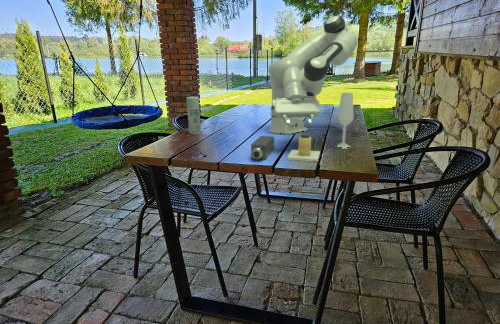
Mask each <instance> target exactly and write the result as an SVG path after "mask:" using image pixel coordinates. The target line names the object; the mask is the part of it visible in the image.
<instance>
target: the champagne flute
mask: <svg viewBox="0 0 500 324" xmlns="http://www.w3.org/2000/svg"><path fill="white" fill-rule="evenodd" d="M353 120H354V93H353V92H341V94H340V100H339V107H338V113H337V121H338V122H339V123H340V124H341V125H342V137H341V138H342V140H341V142H340V143H338V144H336V145H337V147H342V148H341V149H348V148H347V147H350V148H351V145H349V144H347V143H346V132H347V126H348V125H350V124H351V123H352V122H353ZM337 147H336V148H337Z"/></svg>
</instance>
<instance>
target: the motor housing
mask: <svg viewBox="0 0 500 324" xmlns="http://www.w3.org/2000/svg"><path fill="white" fill-rule="evenodd" d="M250 147H251V148H250V149H251V151H250V153H251V154H250V157H251V159H252V160H257V161H258V160H263V161H264V160H265V161H266V160H267V159H268V158H269V157H270V156H271V154H272V153H273V152H274V150H275V136H271V135H270V136H269V135H260V136H259V137H258V138H257V139H256V140H254V142H252V143H251V144H250Z"/></svg>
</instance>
